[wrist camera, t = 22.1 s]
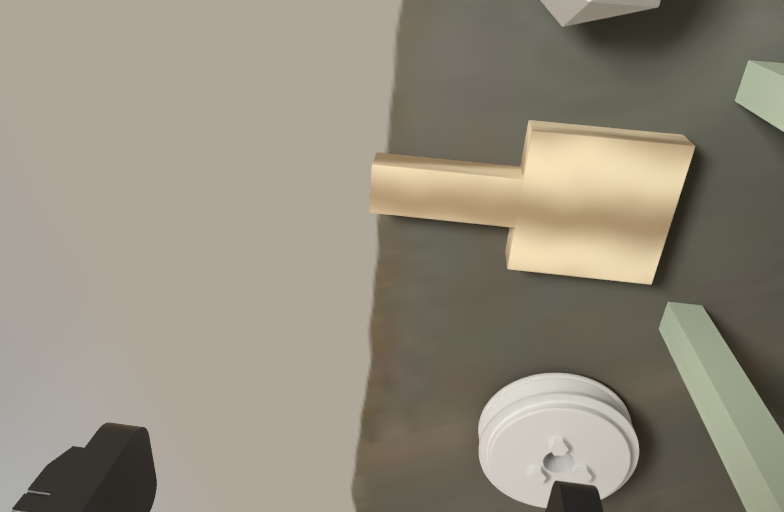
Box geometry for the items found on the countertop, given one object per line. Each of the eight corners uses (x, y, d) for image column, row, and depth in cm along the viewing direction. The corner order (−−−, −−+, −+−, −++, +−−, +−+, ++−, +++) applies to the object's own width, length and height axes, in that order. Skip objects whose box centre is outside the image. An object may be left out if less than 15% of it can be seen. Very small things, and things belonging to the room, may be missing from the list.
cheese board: (379, 106, 41) (374, 116, 39) (682, 134, 40) (695, 146, 37) (371, 238, 45) (367, 254, 43) (642, 267, 44) (651, 284, 42)
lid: (579, 340, 48) (590, 381, 44) (656, 440, 52) (673, 487, 47) (449, 406, 53) (447, 449, 48) (529, 494, 57) (534, 541, 52)
